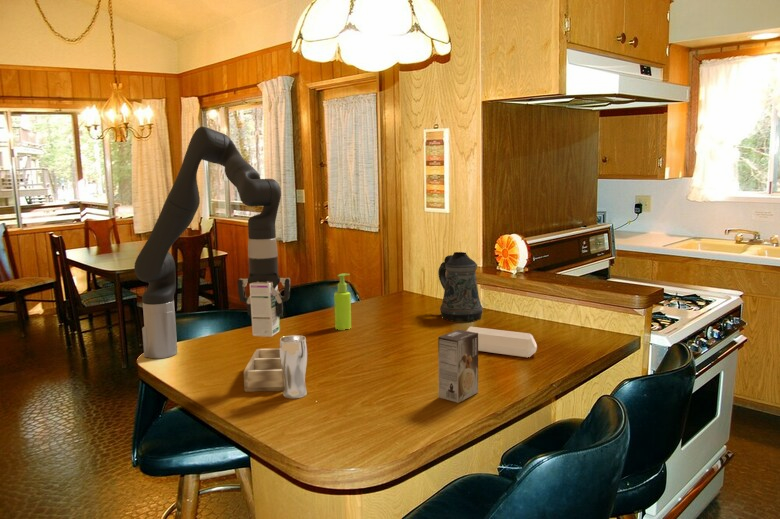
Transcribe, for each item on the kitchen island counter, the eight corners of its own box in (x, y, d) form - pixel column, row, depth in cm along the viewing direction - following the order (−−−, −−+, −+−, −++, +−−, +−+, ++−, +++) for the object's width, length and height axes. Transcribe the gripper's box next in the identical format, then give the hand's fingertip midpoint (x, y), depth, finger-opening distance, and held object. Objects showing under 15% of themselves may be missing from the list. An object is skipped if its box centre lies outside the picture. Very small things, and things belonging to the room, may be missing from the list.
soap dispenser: (356, 326, 222) (355, 273, 219) (344, 331, 217) (343, 276, 214) (343, 324, 226) (342, 271, 223) (332, 328, 220) (330, 274, 217)
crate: (244, 391, 159) (243, 371, 158) (257, 366, 179) (256, 349, 178) (286, 390, 159) (285, 370, 158) (294, 365, 179) (294, 348, 178)
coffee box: (458, 387, 160) (458, 328, 158) (478, 393, 156) (479, 332, 153) (437, 397, 153) (437, 336, 151) (458, 403, 149) (459, 340, 147)
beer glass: (296, 401, 152) (294, 343, 149) (275, 396, 155) (273, 339, 153) (314, 392, 158) (312, 336, 155) (293, 387, 161) (291, 333, 159)
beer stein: (475, 323, 225) (475, 257, 221) (426, 318, 233) (426, 254, 229) (487, 313, 239) (488, 251, 236) (441, 309, 248) (441, 249, 244)
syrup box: (272, 337, 159) (270, 283, 157) (251, 336, 160) (249, 282, 158) (280, 331, 165) (278, 279, 162) (260, 330, 166) (258, 278, 164)
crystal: (541, 339, 190) (469, 331, 201) (536, 333, 184) (462, 325, 195) (538, 363, 187) (465, 352, 198) (533, 357, 181) (458, 347, 192)
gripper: (232, 257, 155) (235, 320, 158) (288, 256, 156) (291, 319, 158) (238, 253, 163) (241, 313, 165) (292, 252, 163) (294, 312, 166)
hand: (265, 316), depth 162 cm, fingers closed on syrup box, 6 cm apart
